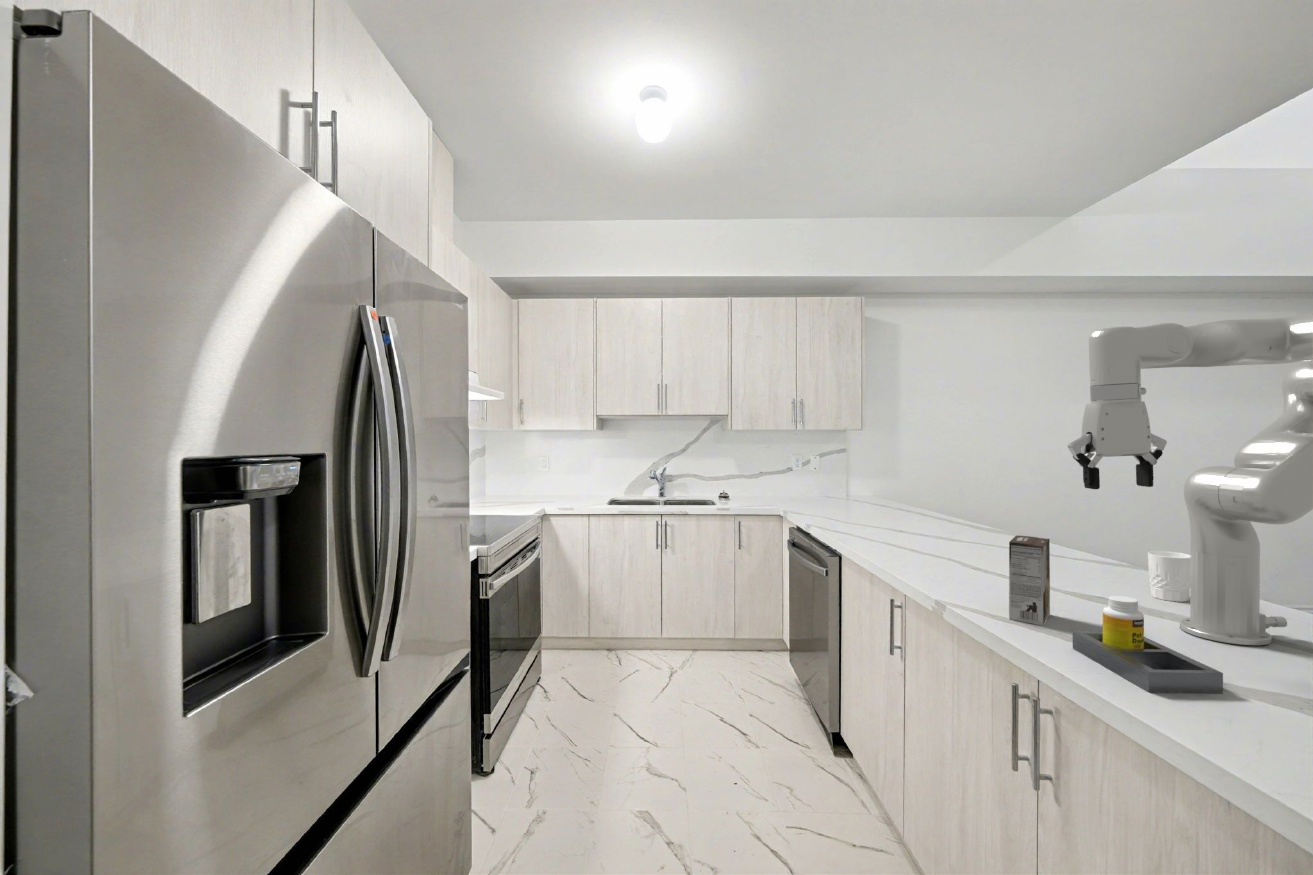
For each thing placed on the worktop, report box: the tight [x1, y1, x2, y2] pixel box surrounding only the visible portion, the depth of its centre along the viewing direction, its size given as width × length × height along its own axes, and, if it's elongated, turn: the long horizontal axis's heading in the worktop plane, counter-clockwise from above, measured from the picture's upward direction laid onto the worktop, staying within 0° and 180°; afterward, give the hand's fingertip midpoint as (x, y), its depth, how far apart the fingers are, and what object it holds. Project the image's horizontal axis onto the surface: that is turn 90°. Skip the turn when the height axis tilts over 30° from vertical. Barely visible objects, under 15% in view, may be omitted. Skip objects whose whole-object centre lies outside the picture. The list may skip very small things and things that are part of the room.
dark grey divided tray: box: [1072, 631, 1224, 694], centre depth 99 cm, size 18×10×3 cm, turn 177°
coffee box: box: [1008, 535, 1051, 626], centre depth 126 cm, size 9×6×16 cm
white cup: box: [1147, 550, 1191, 603], centre depth 139 cm, size 8×8×10 cm
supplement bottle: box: [1102, 595, 1145, 649], centre depth 103 cm, size 6×6×10 cm
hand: (1118, 487), depth 113 cm, fingers open, 9 cm apart
